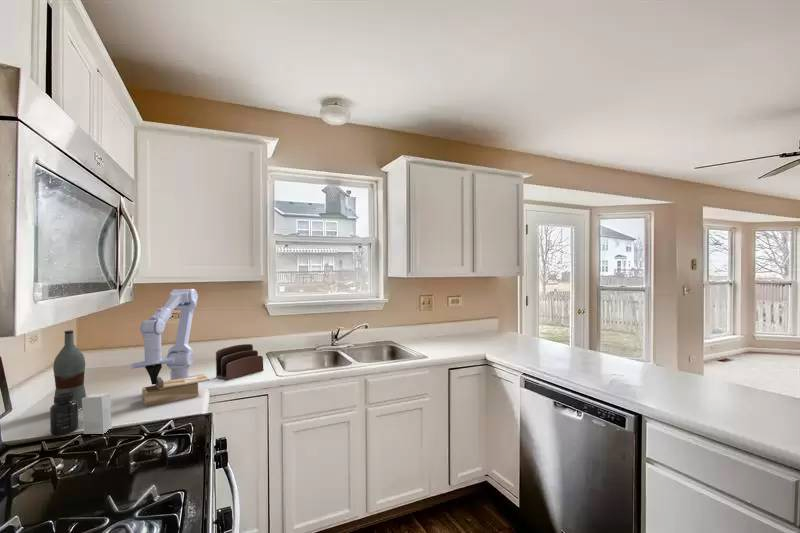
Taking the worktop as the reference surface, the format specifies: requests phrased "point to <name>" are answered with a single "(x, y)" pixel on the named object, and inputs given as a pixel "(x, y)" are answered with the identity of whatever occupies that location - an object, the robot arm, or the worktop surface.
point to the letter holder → (237, 361)
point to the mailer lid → (180, 381)
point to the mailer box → (167, 394)
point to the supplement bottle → (64, 414)
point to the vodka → (70, 370)
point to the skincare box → (96, 413)
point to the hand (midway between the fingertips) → (153, 383)
